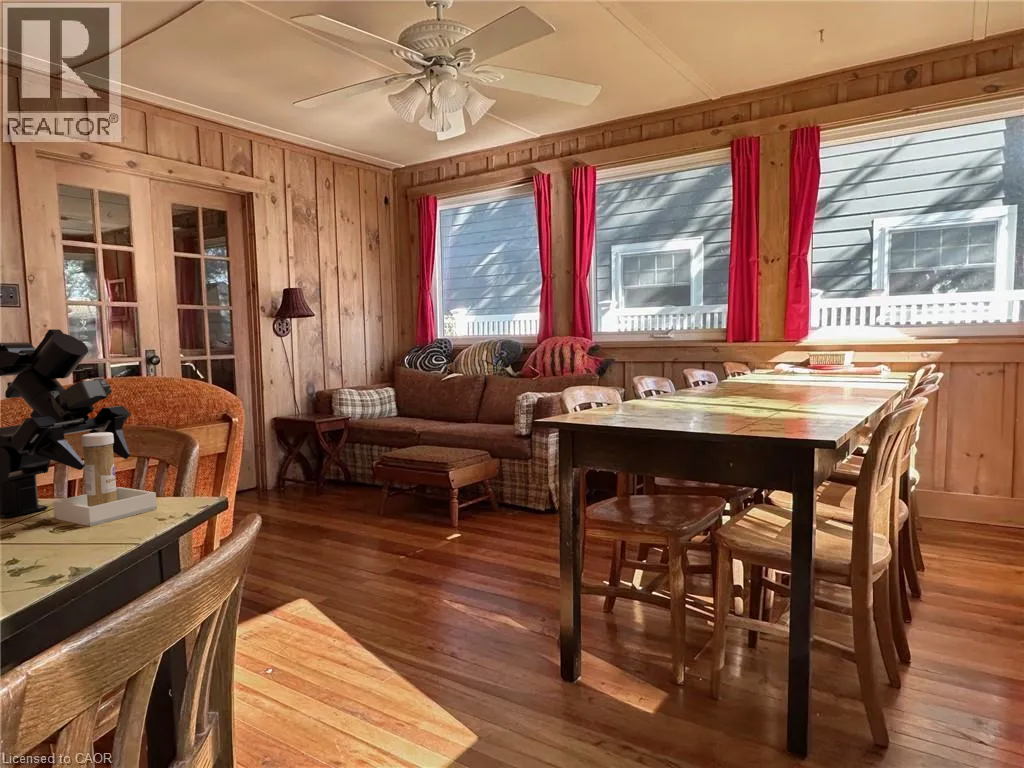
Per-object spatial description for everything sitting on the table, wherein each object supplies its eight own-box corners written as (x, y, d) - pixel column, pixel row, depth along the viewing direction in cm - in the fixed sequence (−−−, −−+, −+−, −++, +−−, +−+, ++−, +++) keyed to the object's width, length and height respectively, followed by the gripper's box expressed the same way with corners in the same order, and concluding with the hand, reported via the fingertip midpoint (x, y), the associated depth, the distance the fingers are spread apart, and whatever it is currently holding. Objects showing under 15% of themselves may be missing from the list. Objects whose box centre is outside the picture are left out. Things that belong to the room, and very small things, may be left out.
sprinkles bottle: (118, 511, 108) (113, 433, 107) (86, 516, 106) (81, 436, 105) (117, 506, 112) (112, 430, 111) (86, 510, 110) (81, 433, 109)
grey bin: (54, 518, 107) (53, 501, 107) (120, 503, 117) (119, 486, 117) (90, 526, 102) (88, 508, 102) (156, 509, 112) (155, 492, 111)
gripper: (19, 367, 99) (83, 438, 97) (117, 361, 117) (173, 421, 115) (-17, 417, 101) (45, 487, 99) (85, 404, 119) (139, 463, 118)
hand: (106, 462), depth 108 cm, fingers open, 9 cm apart
